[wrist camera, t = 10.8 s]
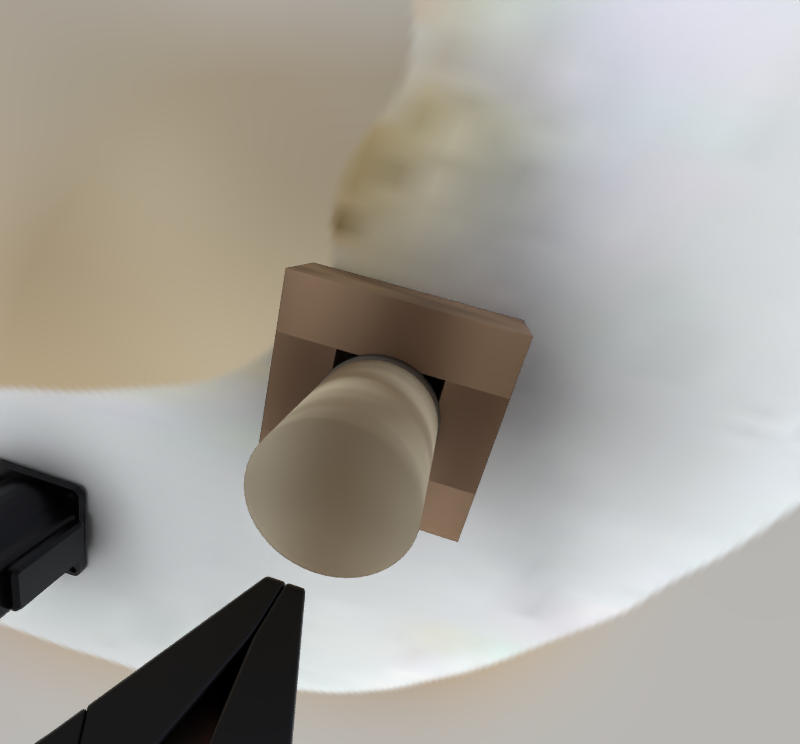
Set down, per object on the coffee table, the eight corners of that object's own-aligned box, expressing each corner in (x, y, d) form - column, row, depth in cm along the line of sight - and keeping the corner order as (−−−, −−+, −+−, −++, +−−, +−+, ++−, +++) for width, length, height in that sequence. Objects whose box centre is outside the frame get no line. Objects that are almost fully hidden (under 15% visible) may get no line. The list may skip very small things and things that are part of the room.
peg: (329, 421, 21) (232, 546, 13) (349, 323, 20) (254, 392, 11) (429, 452, 21) (397, 601, 12) (459, 354, 19) (446, 450, 11)
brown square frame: (282, 445, 22) (253, 476, 19) (313, 262, 19) (285, 268, 16) (460, 501, 21) (457, 542, 19) (523, 320, 18) (532, 336, 15)
